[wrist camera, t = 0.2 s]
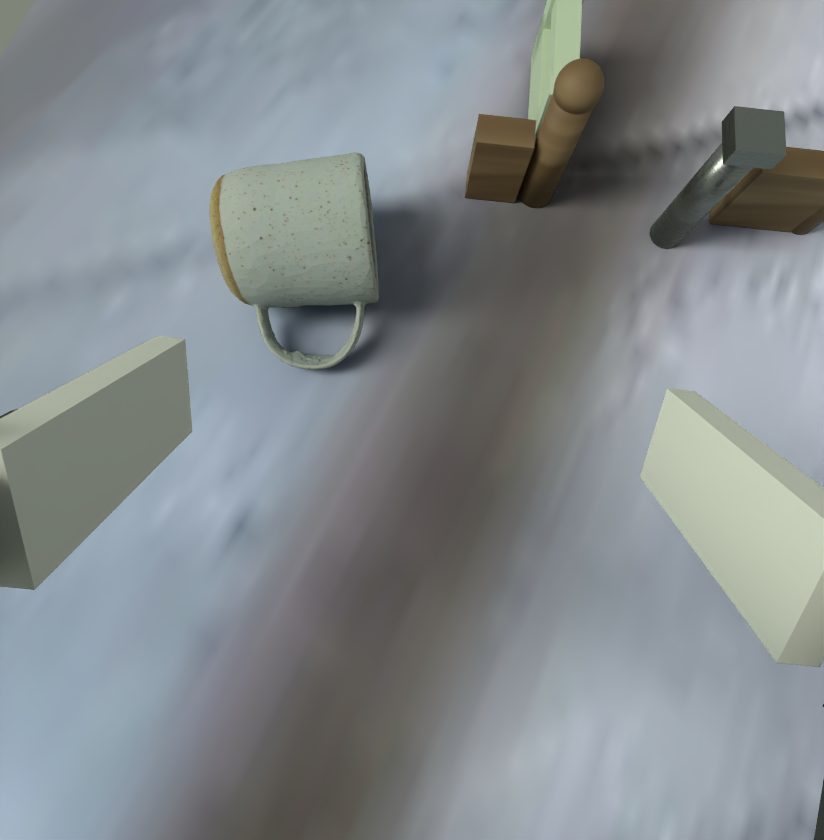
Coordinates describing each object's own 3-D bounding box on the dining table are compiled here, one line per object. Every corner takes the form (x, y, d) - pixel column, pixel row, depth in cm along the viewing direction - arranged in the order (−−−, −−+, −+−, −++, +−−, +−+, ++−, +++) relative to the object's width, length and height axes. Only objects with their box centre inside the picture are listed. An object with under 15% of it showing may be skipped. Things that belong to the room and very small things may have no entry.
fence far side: (813, 236, 34) (919, 162, 27) (709, 224, 34) (788, 148, 27) (812, 208, 34) (915, 129, 28) (709, 197, 34) (787, 115, 28)
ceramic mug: (242, 219, 33) (196, 131, 26) (371, 208, 34) (364, 118, 26) (252, 381, 31) (206, 338, 24) (389, 368, 32) (387, 321, 24)
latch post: (684, 253, 34) (786, 155, 25) (646, 249, 34) (735, 150, 25) (683, 219, 34) (784, 111, 25) (646, 215, 34) (734, 106, 25)
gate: (552, 166, 34) (582, 97, 28) (524, 163, 34) (549, 94, 28) (558, 57, 36) (587, -27, 30) (531, 54, 36) (555, -31, 30)
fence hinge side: (552, 211, 34) (611, 91, 25) (464, 202, 34) (490, 78, 25) (554, 178, 34) (612, 48, 25) (467, 169, 34) (494, 35, 25)
